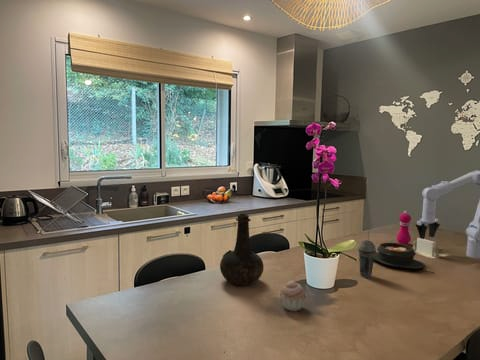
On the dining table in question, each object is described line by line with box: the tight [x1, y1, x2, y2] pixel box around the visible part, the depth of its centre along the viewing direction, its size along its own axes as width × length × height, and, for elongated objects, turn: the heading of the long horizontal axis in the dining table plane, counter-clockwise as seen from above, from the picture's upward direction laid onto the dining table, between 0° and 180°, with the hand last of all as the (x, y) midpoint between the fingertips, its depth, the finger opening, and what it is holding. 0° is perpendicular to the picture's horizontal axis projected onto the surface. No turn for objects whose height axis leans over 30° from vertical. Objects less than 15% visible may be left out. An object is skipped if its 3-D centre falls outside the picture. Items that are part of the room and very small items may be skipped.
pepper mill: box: [396, 210, 412, 246], centre depth 204 cm, size 7×7×20 cm
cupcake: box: [279, 279, 307, 312], centre depth 128 cm, size 9×9×10 cm
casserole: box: [374, 242, 425, 270], centre depth 175 cm, size 25×19×8 cm
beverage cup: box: [358, 229, 377, 279], centre depth 158 cm, size 7×7×20 cm
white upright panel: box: [416, 237, 436, 256], centre depth 189 cm, size 2×9×7 cm, turn 26°
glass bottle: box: [219, 213, 264, 287], centre depth 149 cm, size 18×18×28 cm
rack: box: [412, 239, 451, 260], centre depth 190 cm, size 15×14×6 cm
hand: (426, 237), depth 188 cm, fingers open, 7 cm apart
